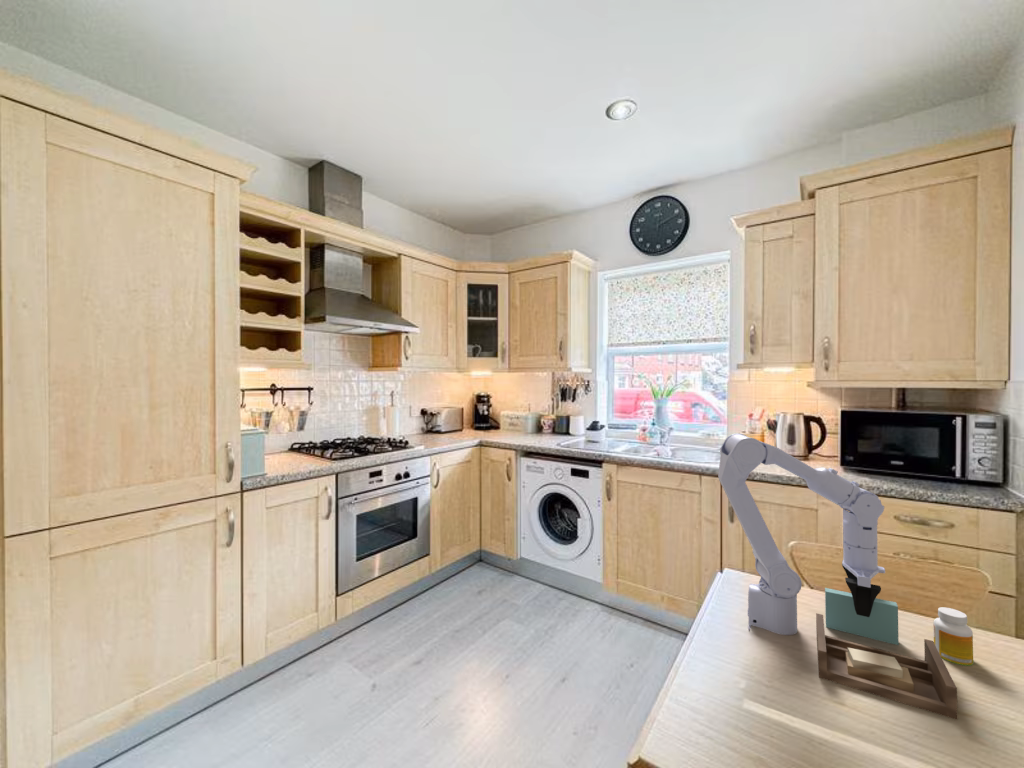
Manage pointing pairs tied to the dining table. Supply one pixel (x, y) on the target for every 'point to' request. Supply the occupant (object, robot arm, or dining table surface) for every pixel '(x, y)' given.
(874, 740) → the dining table surface
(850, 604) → the teal sheet
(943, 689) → the walnut rack
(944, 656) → the supplement bottle
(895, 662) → the ash offcut
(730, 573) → the dining table surface
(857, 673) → the oak offcut
